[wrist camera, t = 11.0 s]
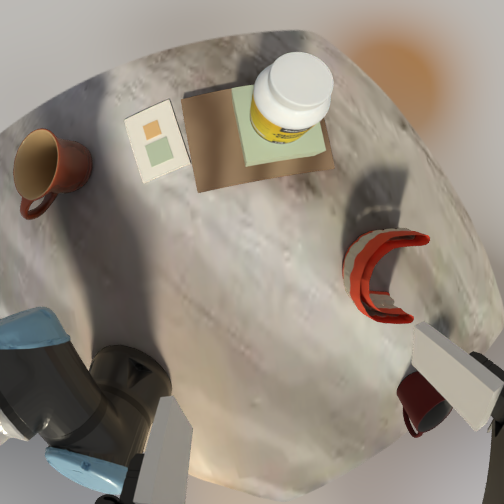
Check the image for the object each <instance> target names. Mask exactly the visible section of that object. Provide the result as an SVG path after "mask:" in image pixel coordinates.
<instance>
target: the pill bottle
mask: <svg viewBox="0 0 504 504" xmlns="http://www.w3.org/2000/svg"><path fill="white" fill-rule="evenodd" d="M333 85H334V84H333V76H332V74H331V71H330V70H329V68H328V67H327V65H326V64H325V63H324V62H323V61H321V60H320V59H319V58H317V57H315V56H313V55H311V54H308V53H304V52H290V53H286V54H284V55H282V56H280V57H279V58H277V59H276V60H275V62H274V63H273V64H271V65H269V66H268V67H266V68H265V69H264V70H263V71H262V72H261V73H260V74H259V76H258V77H257V79H256V81H255V85H254V89H253V95H252V101H251V107H250V122H251V125H252V127H253V129H254V130H255V132H256V133H257V134H258V135H259V136H260V137H261V138H263V139H264V140H266V141H268V142H271V143H275V144H288V143H291V142H294V141H296V140H297V139H299V138H300V137H301V136H303V135H304V134H305V133H306V132H307V131H309V130H310V129H311V128H312V127H313V126H315V125H316V124H317V123H318V122H319V121H321V120H322V119H323V118H324V116H325V115H326V113H327V112H328V110H329V107H330V102H331V93H332V90H333Z"/></svg>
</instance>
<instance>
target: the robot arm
mask: <svg viewBox="0 0 504 504" xmlns="http://www.w3.org/2000/svg"><path fill="white" fill-rule="evenodd" d="M412 365H413V366H414V367H415V368H416V369H417V370H418V371H419V372H420V373H421V374H422V375H423V376H424V377H425V378H426V379H427V380H428V381H429V382H430V384H431V385H432V386H433V387H434V388H435V389H436V390H437V391H438V392H439V393H440V394H441V395H442V396H443V397H444V398H445V399H446V400H447V401H448V402H449V404H450V405H451V406H452V407H453V408H454V409H455V410H456V411H457V412H458V413H459V414H460V415H461V416H462V417H463V419H465V421H466V422H467V423H468V424H469V425H470V426H471V427H472V428H473V429H474V431H475V432H476V431H478V430H479V429H480V428H481V427H482V426H484V425H485V424H486V423H487V421H488V419H489V417H490V415H491V416H492V417H493V420H492V422H491V424H490V426H489V428H488V431H487V432H489V431H490V430H491V428H492V440H491V452H490V462H489V470H488V476H487V483H486V488H485V493H484V498H483V502H482V504H504V371H503V370H502V369H501V368H499V367H498V366H497V365H495V364H493V362H492V361H490V360H488V358H486V357H485V356H484V355H482V354H480V353H477V352H474V351H473V352H471V353H470V354H468V353H467V352H465V351H464V350H463V349H461V348H460V347H459V346H457V345H456V344H455V343H453V342H452V341H451V340H449V339H448V338H447V337H445V336H444V335H443V334H441V333H440V332H439V331H437V330H436V329H435V328H433V327H432V326H430V325H429V324H428V323H426V322H425V321H423V322H421V323H419V324H417V325H415V326H414V337H413V352H412ZM171 393H172V388H171V383H170V380H169V378H168V376H167V374H166V372H165V371H164V370H163V368H162V367H161V366H160V365H159V364H158V363H157V362H156V361H155V360H153V359H152V358H151V357H149V356H148V355H146V354H145V353H143V352H141V351H139V350H136V349H134V348H131V347H127V346H120V345H114V346H108V347H106V348H103V349H102V350H100V351H99V352H98V354H97V355H96V356H95V358H94V359H93V360H92V362H91V365H90V368H89V371H88V370H87V368H86V366H85V365H84V363H83V362H82V360H81V358H80V357H79V355H78V353H77V351H76V350H75V348H74V346H73V344H72V343H71V341H70V336H69V335H68V334H66V332H65V330H64V329H63V327H62V325H61V323H60V321H59V320H58V318H57V316H56V314H55V313H54V312H53V311H52V310H51V309H49V308H47V307H35V308H32V309H28V310H25V311H22V312H19V313H16V314H13V315H10V316H8V317H5V318H3V319H0V446H1V445H2V444H3V443H4V442H5V441H6V440H8V439H9V438H17V439H20V440H24V441H29V440H30V439H31V438H32V437H33V436H35V435H36V434H37V433H39V434H40V436H41V437H42V438H43V439H44V440H45V441H46V442H47V443H48V445H49V446H48V447H47V448H46V450H45V451H46V453H45V457H46V459H47V461H48V463H49V464H50V465H51V466H52V467H53V468H54V469H56V470H57V471H58V472H60V473H61V474H62V475H64V476H66V477H67V478H69V479H71V480H73V481H74V482H76V483H78V484H80V485H83V486H85V487H87V488H90V489H93V490H96V491H99V492H103V493H107V494H106V495H103V496H101V497H99V498H98V499H97V500H96V502H95V504H185V499H186V489H187V478H188V469H189V459H190V450H191V441H192V432H193V428H192V426H191V424H190V423H189V421H188V419H187V418H186V416H185V414H184V413H183V411H182V409H181V408H180V406H179V404H178V402H177V401H176V399H175V397H174V396H171ZM152 423H153V425H152V429H151V432H150V436H149V439H148V443H147V447H146V451H145V454H142V453H143V449H144V446H145V442H146V439H147V435H148V432H149V429H150V426H151V424H152ZM111 494H121V495H120V498H118V497H116V496H114V495H111Z"/></svg>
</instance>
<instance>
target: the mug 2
mask: <svg viewBox="0 0 504 504" xmlns="http://www.w3.org/2000/svg"><path fill="white" fill-rule="evenodd" d="M397 396H398V398H399V399H400V401H401V403H402V405H403V417H404V421H405V424H406V427H407V429H408V431H409V433H410V434H411V435H412V436H413V437H414V438H417V437H420V436H422V434H423V433H424V432H427V431H430V430H431V429H433V428H435V427H436V426H437V425H439V424H440V423H441V422H442V421H443V420H444V419H445V418H446V417H447V416H448V415H449V413H450V412H451V410H452V408H453V407H452V406H451V405H450V404H449V402H448V401H447V400H446V399H445V398H444V397H443V396H442V395H441V394H440V393H439V392H438V391H437V390H436V389H435V388H434V387H433V386H432V385H431V384H430V382H429V381H428V380H427V379H426V378H425V377H424V376H423V375H422V374H421V373H420V372H419V371H417V372H414V373H412V374H410V375H409V376H407V377H406V378H405V379H404V380H403V381H402V382H401V384H400V385H399V387H398V389H397ZM409 418H410V420H411V421H412V423H413V425H414V427H415V428H416V430H417V431H418V434H416V433H415V431H414V430H413V428H412V426H411V423H410V420H409Z"/></svg>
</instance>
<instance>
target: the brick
mask: <svg viewBox="0 0 504 504" xmlns="http://www.w3.org/2000/svg"><path fill="white" fill-rule="evenodd" d="M231 89H232V103H233V108H234V112H235V117H236V122H237V127H238V132H239V137H240V142H241V147H242V152H243V157H244V162H245V167H247V166H253V165H258V164H264V163H270V162H276V161H282V160H289V159H295V158H302V157H310V156H315V155H317V154H320V153H322V152H324V151H326V148H325V143H324V139H323V134H322V130H321V125H320V121H319V122H318V123H317V124H316V125H315V126H313V127H312V128H311V129H310V130H309V131H307V132H306V133H305V134H304V135H303V136H301V137H300V138H299V139H297V140H296V141H294V142H291V143H288V144H275V143H271V142H268V141H266V140H264V139H263V138H261V137H260V136H259V135H258V134H257V133H256V132H255V130H254V129H253V127H252V125H251V122H250V107H251V101H252V95H253V89H254V85H248V86H241V87H235V88H231Z"/></svg>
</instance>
